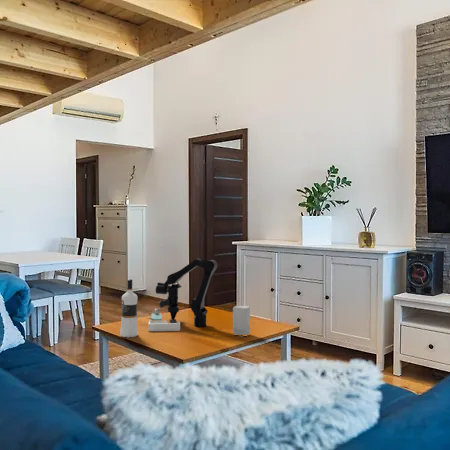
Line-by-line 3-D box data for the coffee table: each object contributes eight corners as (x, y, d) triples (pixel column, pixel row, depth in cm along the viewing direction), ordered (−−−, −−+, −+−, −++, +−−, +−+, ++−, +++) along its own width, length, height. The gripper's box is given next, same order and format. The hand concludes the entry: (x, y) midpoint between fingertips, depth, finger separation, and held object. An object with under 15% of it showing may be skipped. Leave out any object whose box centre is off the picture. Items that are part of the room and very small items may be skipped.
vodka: (139, 337, 246) (140, 280, 245) (122, 338, 242) (123, 280, 241) (135, 332, 254) (136, 277, 253) (118, 334, 250) (119, 278, 250)
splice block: (176, 324, 276) (176, 319, 276) (176, 325, 273) (176, 320, 272) (169, 324, 276) (169, 319, 276) (169, 326, 272) (169, 320, 272)
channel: (179, 327, 268) (179, 320, 268) (180, 330, 261) (180, 323, 261) (148, 327, 266) (148, 320, 266) (148, 331, 258) (148, 323, 258)
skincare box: (250, 334, 256) (250, 306, 255) (246, 337, 249) (247, 308, 249) (235, 332, 258) (236, 304, 258) (232, 335, 252) (232, 307, 252)
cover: (148, 315, 279) (149, 308, 279) (161, 315, 280) (161, 308, 280) (148, 320, 264) (148, 313, 264) (162, 320, 265) (162, 313, 265)
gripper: (159, 292, 286) (159, 317, 287) (159, 297, 268) (159, 324, 268) (177, 292, 288) (177, 317, 288) (178, 297, 269) (178, 324, 270)
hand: (172, 321), depth 279 cm, fingers closed
